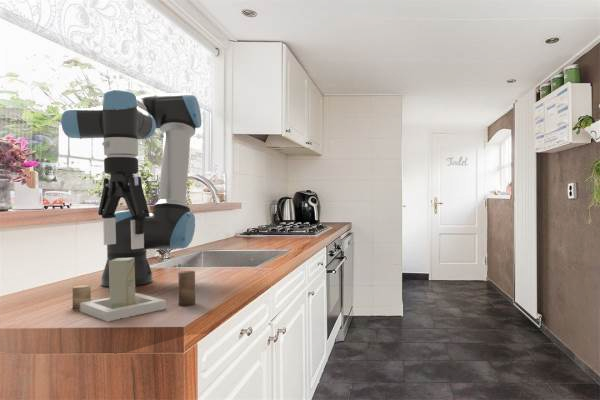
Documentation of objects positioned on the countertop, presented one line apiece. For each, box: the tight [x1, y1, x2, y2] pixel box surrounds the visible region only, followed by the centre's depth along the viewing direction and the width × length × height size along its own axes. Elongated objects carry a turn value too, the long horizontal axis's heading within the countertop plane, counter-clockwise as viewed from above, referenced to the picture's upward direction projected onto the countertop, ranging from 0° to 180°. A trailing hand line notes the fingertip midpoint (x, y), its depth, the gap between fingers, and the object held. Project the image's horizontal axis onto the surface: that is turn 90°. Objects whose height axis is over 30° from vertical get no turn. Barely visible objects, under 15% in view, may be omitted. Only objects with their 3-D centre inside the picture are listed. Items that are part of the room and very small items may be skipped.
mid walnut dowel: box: [177, 270, 196, 307], centre depth 108 cm, size 4×4×8 cm
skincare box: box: [108, 258, 136, 309], centre depth 103 cm, size 6×4×12 cm
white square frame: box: [79, 292, 167, 322], centre depth 103 cm, size 14×14×2 cm
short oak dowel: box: [71, 284, 92, 310], centre depth 106 cm, size 4×4×5 cm
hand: (123, 246), depth 103 cm, fingers open, 13 cm apart
